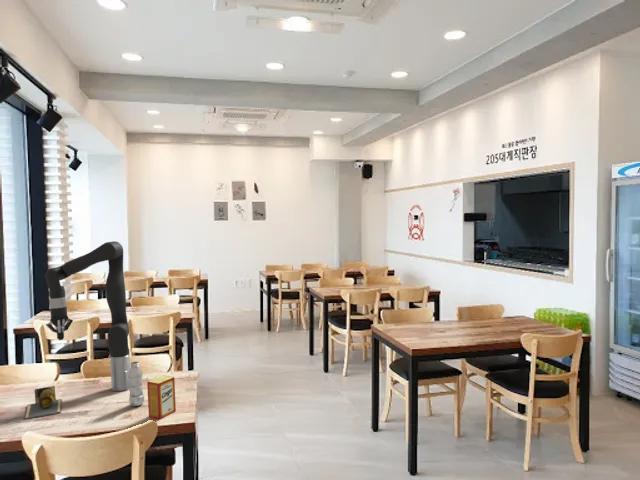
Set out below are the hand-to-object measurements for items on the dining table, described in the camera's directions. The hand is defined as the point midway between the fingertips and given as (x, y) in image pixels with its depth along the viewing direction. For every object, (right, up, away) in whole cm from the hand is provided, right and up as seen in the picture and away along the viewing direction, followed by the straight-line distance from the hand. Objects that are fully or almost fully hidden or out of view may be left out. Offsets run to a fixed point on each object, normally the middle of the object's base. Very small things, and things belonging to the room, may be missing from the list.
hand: (60, 339), depth 250 cm
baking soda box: (+64, -26, -35) cm, 77 cm away
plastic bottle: (+48, -26, -24) cm, 60 cm away
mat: (+6, -27, -26) cm, 38 cm away
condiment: (+2, -23, -17) cm, 29 cm away
